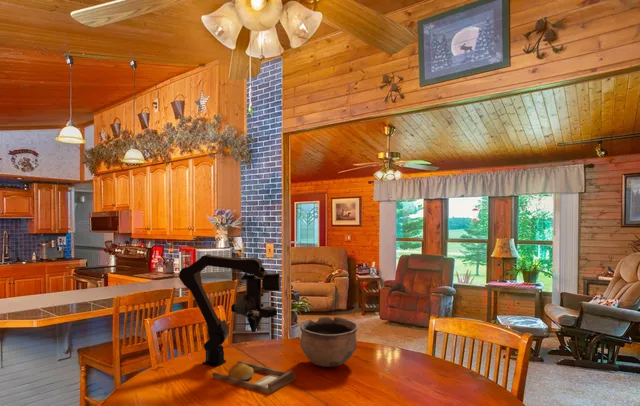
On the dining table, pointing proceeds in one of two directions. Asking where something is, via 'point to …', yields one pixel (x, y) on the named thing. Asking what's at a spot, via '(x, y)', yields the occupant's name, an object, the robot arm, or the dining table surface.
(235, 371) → the bread roll
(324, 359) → the ceramic bowl
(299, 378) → the dining table surface
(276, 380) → the brown open frame
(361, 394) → the dining table surface
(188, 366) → the dining table surface
